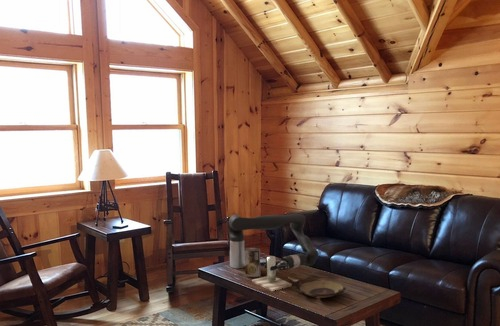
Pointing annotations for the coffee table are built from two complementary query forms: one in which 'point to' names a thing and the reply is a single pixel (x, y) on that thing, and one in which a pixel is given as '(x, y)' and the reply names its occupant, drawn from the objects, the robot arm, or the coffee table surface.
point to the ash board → (271, 283)
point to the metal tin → (270, 262)
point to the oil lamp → (318, 288)
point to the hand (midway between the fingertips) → (267, 267)
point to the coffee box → (252, 262)
